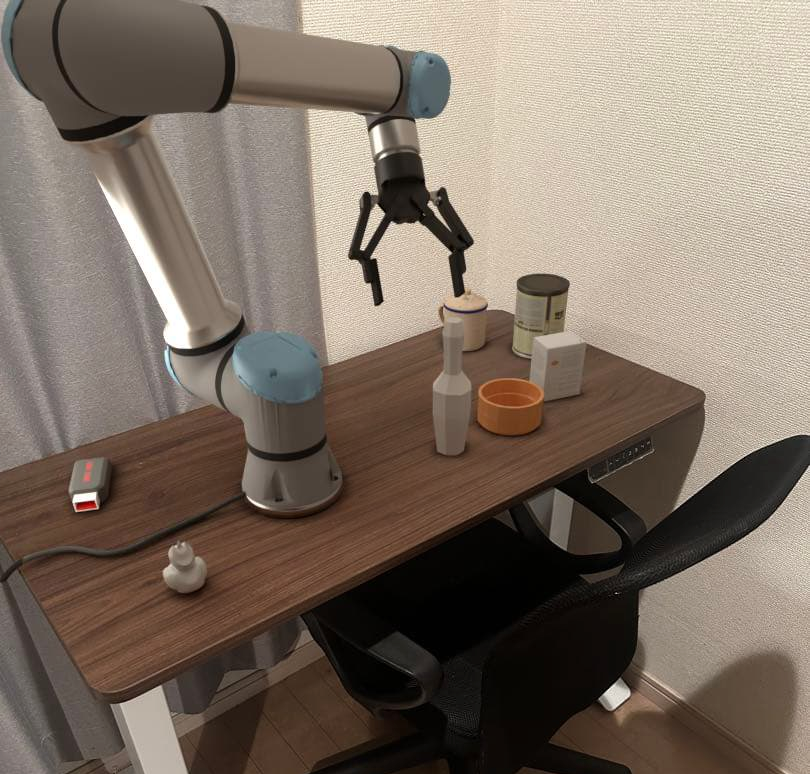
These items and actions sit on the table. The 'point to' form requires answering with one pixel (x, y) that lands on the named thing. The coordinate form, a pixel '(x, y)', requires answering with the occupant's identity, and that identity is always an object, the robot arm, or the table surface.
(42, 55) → the robot arm
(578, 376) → the small box
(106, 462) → the usb drive
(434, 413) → the low poly bottle
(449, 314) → the teacup with lid
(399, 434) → the table surface
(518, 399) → the bowl
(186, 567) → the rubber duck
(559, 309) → the coffee can
